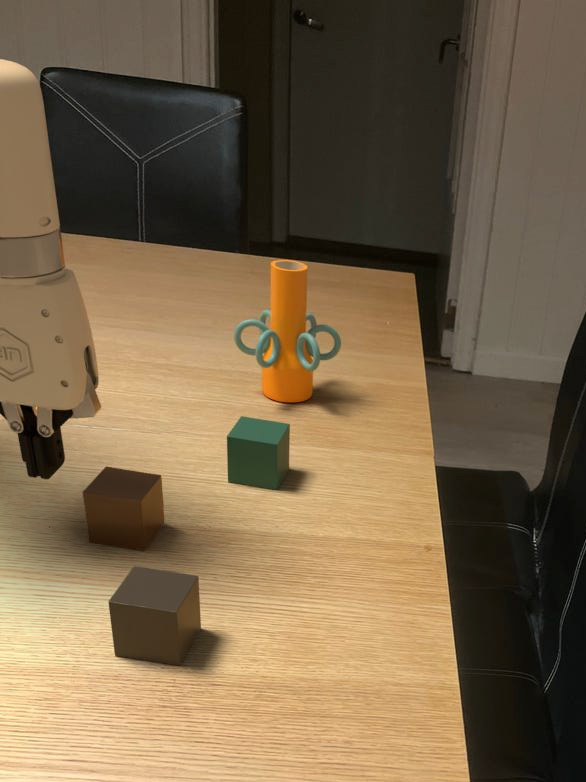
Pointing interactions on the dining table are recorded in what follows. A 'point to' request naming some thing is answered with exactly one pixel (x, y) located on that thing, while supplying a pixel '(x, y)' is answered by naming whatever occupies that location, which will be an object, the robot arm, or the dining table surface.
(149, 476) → the walnut block
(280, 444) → the teal block
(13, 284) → the robot arm
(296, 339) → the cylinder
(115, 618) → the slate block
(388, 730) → the dining table surface
